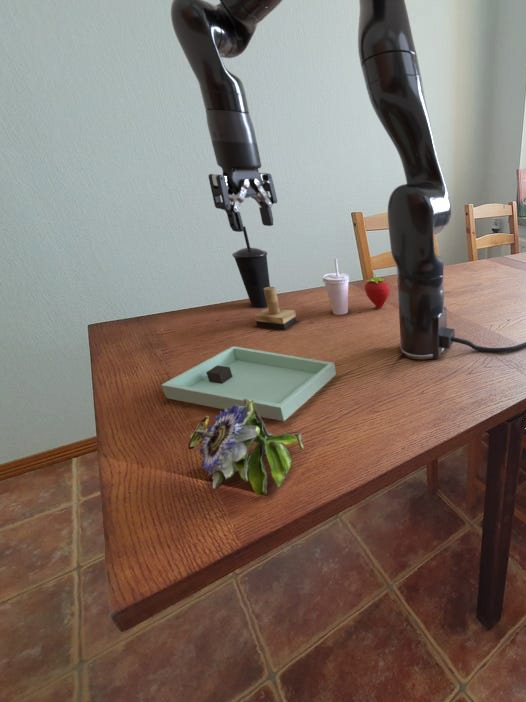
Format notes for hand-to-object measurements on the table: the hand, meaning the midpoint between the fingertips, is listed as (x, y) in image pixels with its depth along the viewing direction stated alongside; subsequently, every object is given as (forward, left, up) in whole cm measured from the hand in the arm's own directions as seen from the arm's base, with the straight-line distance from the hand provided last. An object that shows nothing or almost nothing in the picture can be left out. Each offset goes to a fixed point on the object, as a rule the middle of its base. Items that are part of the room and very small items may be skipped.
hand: (254, 228), depth 79 cm
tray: (-16, +25, -22) cm, 37 cm away
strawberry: (-18, -18, -22) cm, 34 cm away
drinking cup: (+12, -10, -22) cm, 27 cm away
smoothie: (-10, -12, -22) cm, 27 cm away
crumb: (-9, +25, -21) cm, 34 cm away
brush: (0, 0, -22) cm, 22 cm away
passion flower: (-29, +41, -22) cm, 55 cm away
